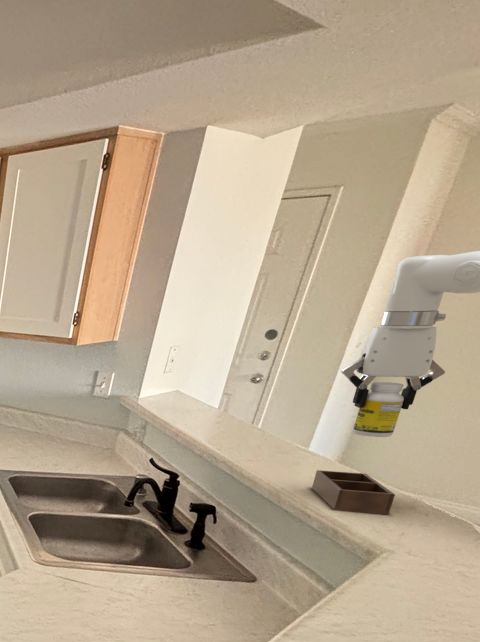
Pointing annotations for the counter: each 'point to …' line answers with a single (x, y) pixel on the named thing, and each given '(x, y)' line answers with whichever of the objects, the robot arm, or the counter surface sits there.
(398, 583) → the counter surface
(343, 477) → the divided box
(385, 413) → the pill bottle
